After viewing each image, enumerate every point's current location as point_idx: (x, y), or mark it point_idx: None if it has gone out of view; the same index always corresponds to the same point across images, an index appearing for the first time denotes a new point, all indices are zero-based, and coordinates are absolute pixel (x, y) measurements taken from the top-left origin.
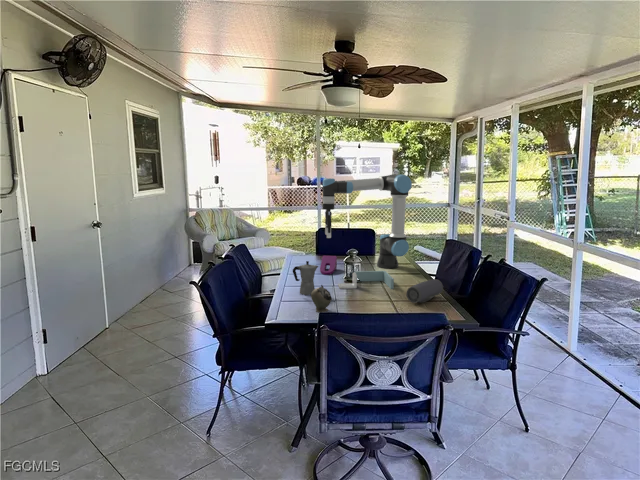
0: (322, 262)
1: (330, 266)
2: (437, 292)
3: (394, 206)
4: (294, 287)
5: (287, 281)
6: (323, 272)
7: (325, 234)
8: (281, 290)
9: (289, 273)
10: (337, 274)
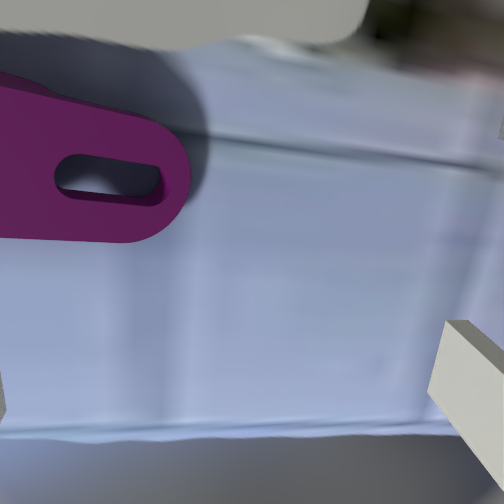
0: (41, 228)
1: (113, 152)
2: None
3: None
4: None
5: (328, 416)
6: (177, 210)
7: (4, 409)
8: None
9: (135, 419)
10: (177, 87)
